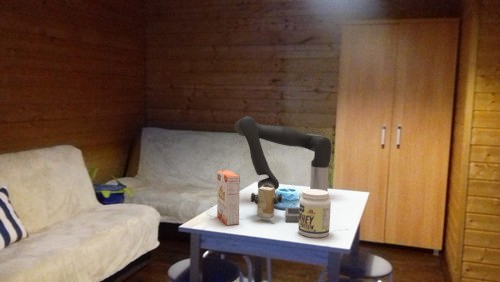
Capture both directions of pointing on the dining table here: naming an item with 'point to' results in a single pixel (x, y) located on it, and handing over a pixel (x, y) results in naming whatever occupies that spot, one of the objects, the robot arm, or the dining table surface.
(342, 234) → the dining table surface
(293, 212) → the tray
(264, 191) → the skincare box
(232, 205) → the cracker box
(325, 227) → the supplement tub
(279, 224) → the dining table surface
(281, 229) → the dining table surface
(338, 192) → the dining table surface
